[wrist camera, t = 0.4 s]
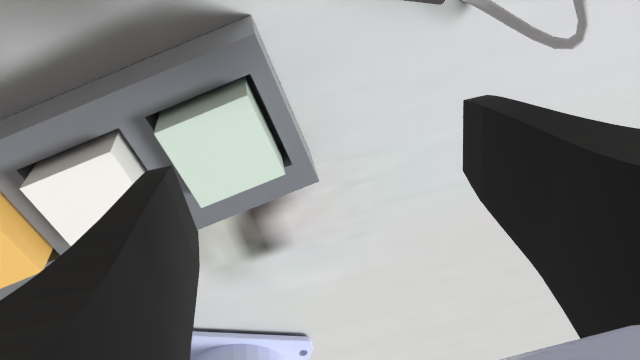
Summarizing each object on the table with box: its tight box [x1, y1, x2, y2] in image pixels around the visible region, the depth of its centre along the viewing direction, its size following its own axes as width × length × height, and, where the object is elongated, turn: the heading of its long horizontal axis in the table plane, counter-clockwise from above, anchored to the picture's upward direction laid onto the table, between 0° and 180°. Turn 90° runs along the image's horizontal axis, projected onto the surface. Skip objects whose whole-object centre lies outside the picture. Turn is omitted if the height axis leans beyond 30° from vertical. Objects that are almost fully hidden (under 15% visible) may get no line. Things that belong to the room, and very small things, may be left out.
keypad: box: [0, 15, 319, 300], centre depth 19 cm, size 15×6×3 cm, turn 110°
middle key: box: [20, 129, 148, 246], centre depth 18 cm, size 3×3×2 cm
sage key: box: [154, 77, 285, 208], centre depth 17 cm, size 3×3×2 cm
